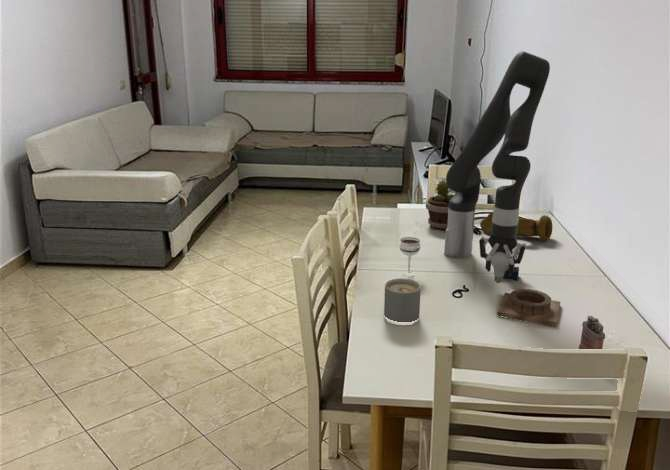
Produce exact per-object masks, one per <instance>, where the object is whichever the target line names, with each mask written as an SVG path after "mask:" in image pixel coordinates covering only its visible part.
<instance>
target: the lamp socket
mask: <svg viewBox="0 0 670 470" xmlns="http://www.w3.org/2000/svg"><path fill="white" fill-rule="evenodd" d="M560 308H561V301H559V300H554V299H552V297H550V295H548V294H547V293H545V292H542V291H541V290H537V289H531V288H518V289H515V290H512V291H510V292H504V293H503V296H502V298H501V300H500V304H499V306H498V308H497V311H496V316H497V315H498V316H503V317H507V318H506V319H509V318H512V319H511V320H514V319H516V321H519V320H521V321H520V322H525V321H527V323H530V322H532V323H531V324H536V323H538V324H537V325H541V324H542V326H547V325H548V327H552V326H553V327H554V328H557V323H558V319H557V318H559V313H560ZM498 316H497V317H498ZM503 317H502V318H503Z"/></svg>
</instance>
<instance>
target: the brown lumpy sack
mask: <svg viewBox="0 0 670 470" xmlns="http://www.w3.org/2000/svg"><path fill="white" fill-rule="evenodd" d="M580 335H581V336H580V341H579V346H578V350H579V349H602V350H603V348H604V347H603V345H604V340H605V339H606V333H604V325H603V324H602V323H600V321H599V319H598V318H595V317H594V316H593V315H587V320H585V321H582V330H581V334H580Z"/></svg>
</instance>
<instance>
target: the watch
mask: <svg viewBox="0 0 670 470" xmlns="http://www.w3.org/2000/svg"><path fill="white" fill-rule="evenodd" d="M519 252H520V251H518V247H517V246H516V247H515V248H514V249H513V253H514V257H515V258H518V255H519ZM508 270H509V266H508V267H507V269H506V271H505V274H504V276H503V280H507V281H514V282H515V281H516V282H517V281H518V280H519V273H520V267H519V266H514V272H513V274H511V275H508Z"/></svg>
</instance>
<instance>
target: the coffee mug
mask: <svg viewBox="0 0 670 470" xmlns="http://www.w3.org/2000/svg"><path fill="white" fill-rule="evenodd" d="M421 286H422V285H421V284H420V283H419V282H418V281H416V280H414V279H411V278H401V277H399V278H394V279H389V280H387V281H386V282H385V283H384V298H383V300H384V302H383V304H384V305H383V316H384V315H385V317H387V318H388V319H390V320H393V321H397V322H412V321H415V320H417V319H418V318H419V319H420V310H421V309H420V308H421V307H420V306H421V292H422V291H421V290H422V289H421Z"/></svg>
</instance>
